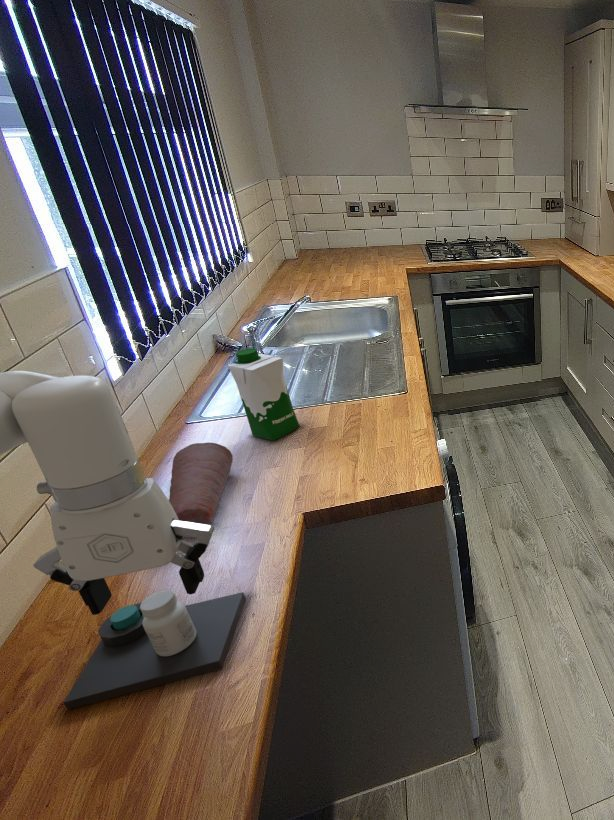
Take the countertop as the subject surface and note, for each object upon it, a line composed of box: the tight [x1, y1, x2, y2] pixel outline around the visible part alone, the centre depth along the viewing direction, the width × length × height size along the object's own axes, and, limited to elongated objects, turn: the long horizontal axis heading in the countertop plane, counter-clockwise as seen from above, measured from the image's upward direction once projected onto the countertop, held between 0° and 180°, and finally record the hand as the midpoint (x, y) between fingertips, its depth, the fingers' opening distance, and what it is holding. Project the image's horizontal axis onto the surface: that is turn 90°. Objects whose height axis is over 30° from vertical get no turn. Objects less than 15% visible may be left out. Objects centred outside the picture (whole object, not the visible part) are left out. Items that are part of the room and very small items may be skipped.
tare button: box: [109, 604, 141, 630], centre depth 71 cm, size 3×3×2 cm
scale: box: [63, 591, 247, 711], centre depth 70 cm, size 16×13×3 cm
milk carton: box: [227, 348, 301, 442], centre depth 120 cm, size 9×9×20 cm
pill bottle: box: [140, 589, 197, 656], centre depth 68 cm, size 4×4×8 cm
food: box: [168, 442, 234, 526], centre depth 97 cm, size 21×9×9 cm, turn 32°
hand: (150, 595), depth 66 cm, fingers open, 9 cm apart
